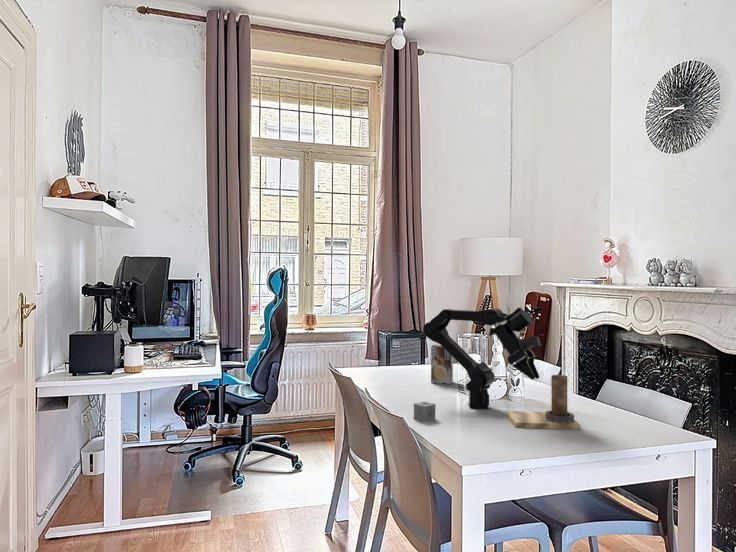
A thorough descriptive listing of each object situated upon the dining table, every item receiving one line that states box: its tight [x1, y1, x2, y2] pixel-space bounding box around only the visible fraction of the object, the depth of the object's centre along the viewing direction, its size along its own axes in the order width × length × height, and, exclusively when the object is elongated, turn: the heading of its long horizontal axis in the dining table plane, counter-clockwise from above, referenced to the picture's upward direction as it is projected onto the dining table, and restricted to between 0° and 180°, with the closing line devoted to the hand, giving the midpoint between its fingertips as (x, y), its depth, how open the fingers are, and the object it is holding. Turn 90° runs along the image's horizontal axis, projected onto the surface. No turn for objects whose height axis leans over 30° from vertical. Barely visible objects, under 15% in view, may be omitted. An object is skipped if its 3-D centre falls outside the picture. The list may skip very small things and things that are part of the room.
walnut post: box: [550, 374, 568, 417], centre depth 168 cm, size 5×5×14 cm
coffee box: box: [430, 344, 454, 385], centre depth 231 cm, size 9×6×16 cm
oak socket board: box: [505, 410, 581, 430], centre depth 171 cm, size 20×14×4 cm
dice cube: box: [413, 401, 436, 423], centre depth 173 cm, size 5×5×5 cm
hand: (536, 378), depth 177 cm, fingers open, 9 cm apart
